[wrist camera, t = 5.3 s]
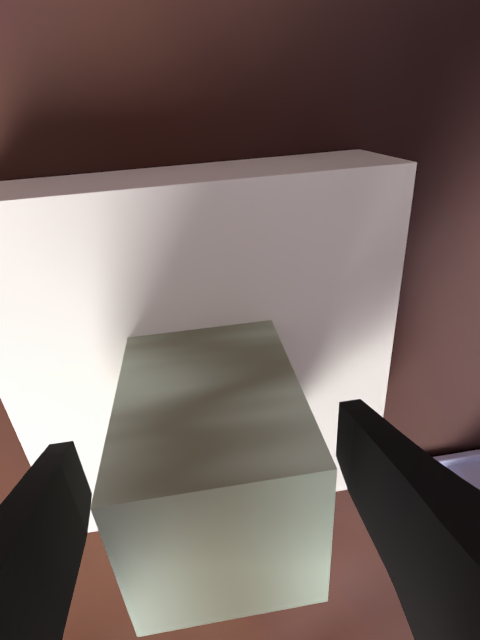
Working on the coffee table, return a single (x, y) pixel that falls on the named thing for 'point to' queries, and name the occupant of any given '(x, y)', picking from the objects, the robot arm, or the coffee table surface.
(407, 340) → the coffee table surface
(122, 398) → the sage block
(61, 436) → the plinth
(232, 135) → the coffee table surface
